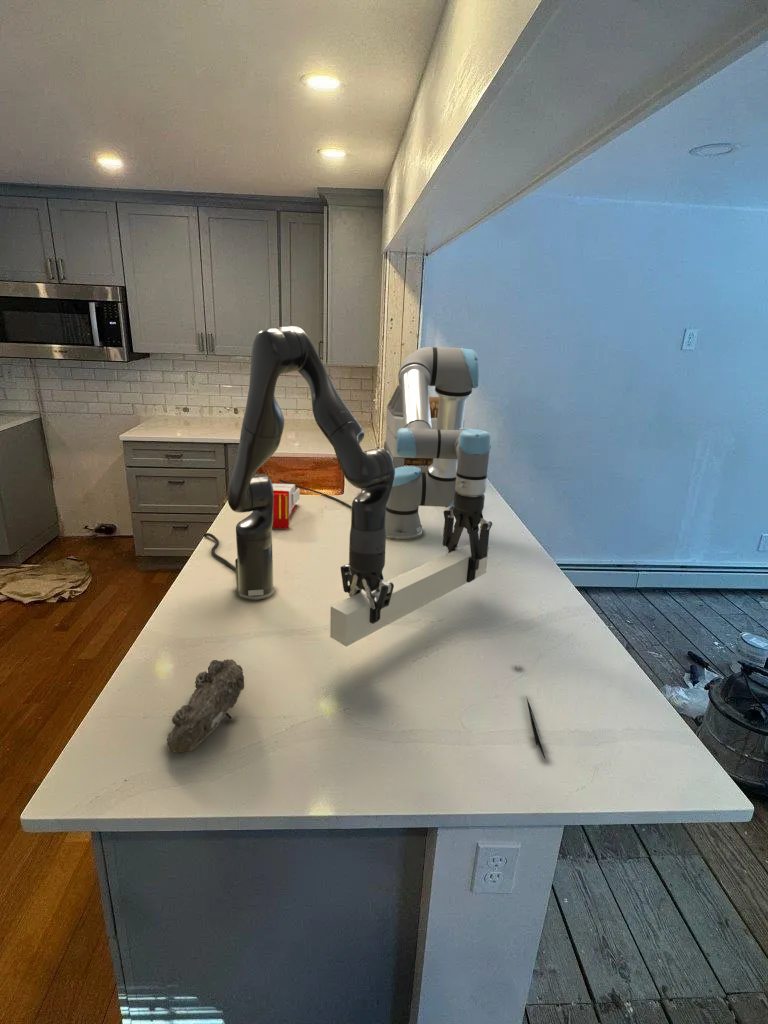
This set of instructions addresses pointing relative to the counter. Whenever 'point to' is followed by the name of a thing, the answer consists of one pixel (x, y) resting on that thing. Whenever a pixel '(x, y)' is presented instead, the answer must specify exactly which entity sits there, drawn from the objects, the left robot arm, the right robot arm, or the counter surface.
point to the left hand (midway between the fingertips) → (365, 616)
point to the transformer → (396, 422)
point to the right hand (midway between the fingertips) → (461, 576)
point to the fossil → (206, 705)
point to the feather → (535, 728)
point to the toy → (284, 504)
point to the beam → (403, 595)
